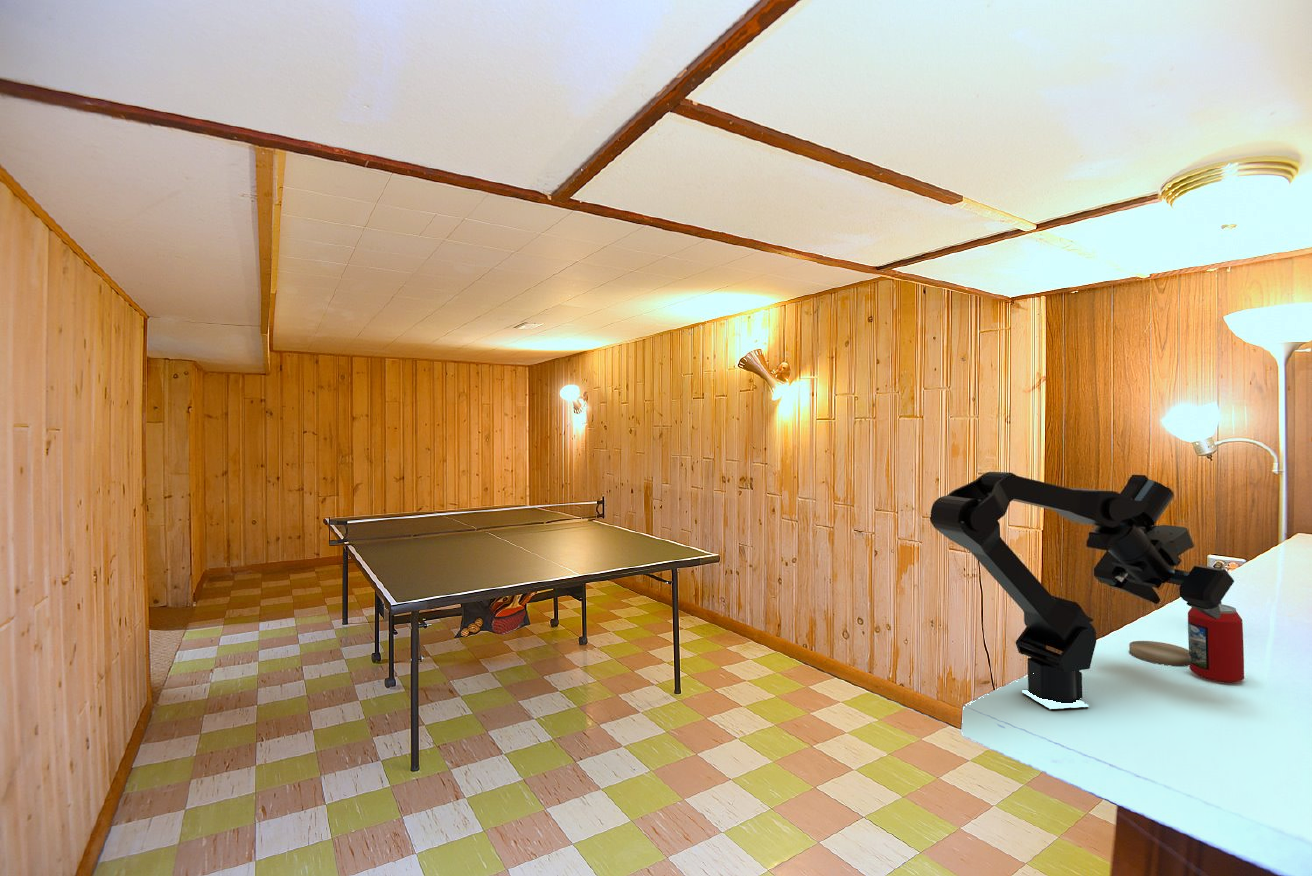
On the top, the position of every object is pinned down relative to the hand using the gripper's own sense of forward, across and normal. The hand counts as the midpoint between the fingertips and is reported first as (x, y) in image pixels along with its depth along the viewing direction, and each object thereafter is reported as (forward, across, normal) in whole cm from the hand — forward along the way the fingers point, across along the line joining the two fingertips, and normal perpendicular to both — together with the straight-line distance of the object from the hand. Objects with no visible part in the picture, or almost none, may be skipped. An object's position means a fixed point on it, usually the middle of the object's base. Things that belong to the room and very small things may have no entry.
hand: (1186, 609), depth 99 cm
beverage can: (+13, 0, +5) cm, 14 cm away
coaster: (+13, +10, +4) cm, 17 cm away
